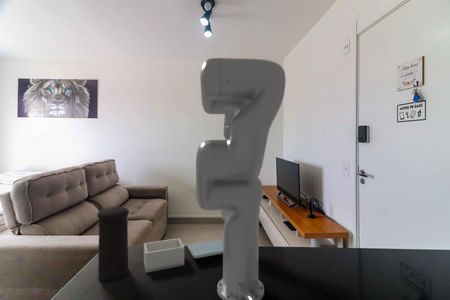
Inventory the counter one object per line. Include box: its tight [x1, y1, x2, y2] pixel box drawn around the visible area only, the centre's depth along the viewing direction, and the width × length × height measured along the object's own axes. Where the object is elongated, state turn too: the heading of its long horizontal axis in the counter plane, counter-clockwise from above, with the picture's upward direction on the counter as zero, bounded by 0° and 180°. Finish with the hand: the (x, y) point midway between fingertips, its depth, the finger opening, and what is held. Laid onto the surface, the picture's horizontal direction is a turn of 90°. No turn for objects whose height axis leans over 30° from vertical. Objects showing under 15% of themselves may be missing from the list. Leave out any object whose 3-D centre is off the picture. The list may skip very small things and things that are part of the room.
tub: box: [143, 237, 185, 273], centre depth 78 cm, size 8×12×6 cm, turn 113°
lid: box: [187, 238, 223, 259], centre depth 84 cm, size 9×16×8 cm, turn 113°
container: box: [96, 206, 130, 282], centre depth 71 cm, size 9×9×20 cm
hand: (230, 240), depth 86 cm, fingers closed on lid, 3 cm apart
